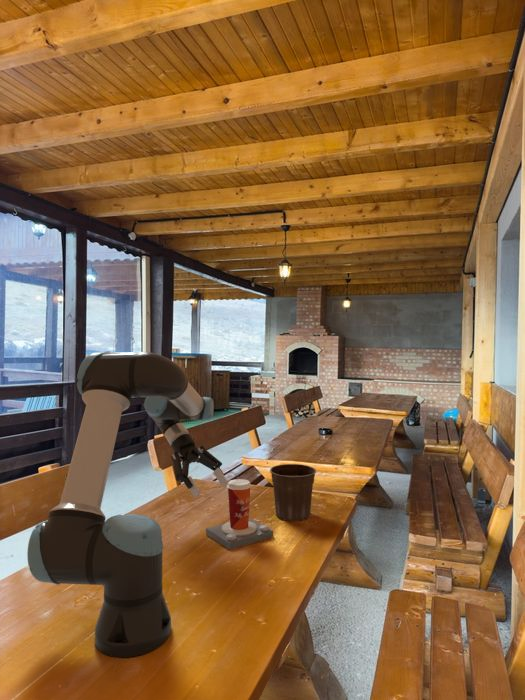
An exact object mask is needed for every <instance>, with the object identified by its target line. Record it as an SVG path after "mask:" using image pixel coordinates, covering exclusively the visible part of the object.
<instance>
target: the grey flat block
mask: <svg viewBox="0 0 525 700" xmlns="http://www.w3.org/2000/svg"><path fill="white" fill-rule="evenodd" d="M205 535H206V536H208V537H209V538H210V539H212V540H214V541H215V542H216V543H218V544H219V545H221V546H222V547H225V549H227V550H229V551H231V550H234V549H237V548H240V547H244V546H247V545H250V544H254V543H256V542H261V541H264V540H267V539H271V538H274V530H273V529H271V528H270V525H267V524H261V523H260V522H258V521H255V520H254V519H252V518H250V517H249V522H248V528H246V529H243V530H235V529H232V528H231V526H230V521H227V522H226V523H222V524H221V523H220V524H216V525H213V526H209V527H206V528H205Z"/></svg>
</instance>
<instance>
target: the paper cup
mask: <svg viewBox="0 0 525 700" xmlns="http://www.w3.org/2000/svg"><path fill="white" fill-rule="evenodd" d="M251 487H252V485H251V481H249V480H248V479H242V478H240V479H239V478H236V479H232V480H231V479H230V480H228V485H227V486H226V488H227V494H228V510H229V511H228V513H229V522H230V526H231V528H232V529H235V530H243V529H246V528H248V522H249V518H250V499H251V498H250V497H251Z"/></svg>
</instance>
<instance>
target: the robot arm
mask: <svg viewBox="0 0 525 700" xmlns="http://www.w3.org/2000/svg"><path fill="white" fill-rule="evenodd" d="M76 378H77V382H76V386H77V390H78V392H79V394H80V395H81V400H82V402H83V403H84V404H85V408H84V413H83V416H82V419H81V423H80V427H79V430H78V431H79V432H78V434H77V438H76V443H75V445H74V450H73V453H72V457H71V461H70V464H69V467H68V472H67V475H66V479H65V482H64V487H63V491H62V493H61V498H60V501H59V504H57V505H56V506H54V507H53V508H52V509H50V510H49V513H48V517H47V520H44V521H42V522H39V523H37V525H36V526H35V528H33V529H32V532H31V534H30V536H29V540H28V545H27V553H26V555H27V565H28V567H29V572H30V574H31V576H32V577H33V578H34V579H35V580H37V581H38V582H41V583H50V584H54V585H60V584H63V585H65V584H66V585H67V584H68V585H93V586H97V585H98V586H103V603H102V605H101V609H100V612H99V615H98V618H97V622H96V624H95V628H94V643H95V646H96V649H98V650H99V651H100V652H101V653H103V654H104V655H106V656H111V657H113V658H114V657H115V658H132V657H137V656H142V655H144V654H147V653H149V652H152V651H154V650H156V649H158V648H159V647H161V645H163V644H165V642H166V641H167V640H168V638H169V637H170V636H171V632H172V617H171V614H170V611H169V608H168V605H167V602H166V599H165V596H164V593H163V549H164V543H163V538H162V537H163V536H162V533H163V532H162V528H161V526H160V524H159V522H157V521H156V520H155V519H154V518H152V517H149V516H147V515H143V514H137V513H125V514H117V515H113V516H110V517H108V518H106V516H105V514H104V512H103V511H102V503H103V499H104V494H105V491H106V485H107V481H108V477H109V472H110V467H111V463H112V458H113V454H114V449H115V444H116V441H117V437H118V432H119V427H120V422H121V418H122V413H123V412H124V411H126V410H128V409H129V408H130V405H131V402H132V401H131V400H132V398H145V400H144V403H143V406H144V410H145V412H146V413H147V415H148V416H149V417H150V418H151V419H152V420H153V422H154V423H155V424H156V425H157V427H158V428H159V429H160V431H161V433H162V434H163V436H164V437H165V439H166V440H167V442H168V444H169V445H170V448H172V451H173V454H172V455H171V456H170V458H171V460H172V463H173V468H174V474H175V481H177V482H178V481H179V482H180V483H181V484H182V483H184V484H185V486H186V488H187V489H188V490H189V491H190V492H191V494H192V496H193V497H194V499H197V498H198V497H199V496H200V495H201V493H202V491H201V490H200V488H199V487H198V485H197V483H196V482H195V480H194V479H193V477H192V476H191V475H189V469H190V464H192V463H197V464H202V465H203V466H205V467H207V468H208V469H209V470H211V471H213V472H212V474H213V475H214V477H215V478H216V479H217V481H218V482H219V484H220V485H221V487H222V488H223V489H225V488H227V485H228V482H229V480H228V479H227V478H226V476H225V474H224V472H223V471H222V469H221V467H222V466H223V462H221V460H219V459H218V458H217V457H215V456H214V455H213V454H212V453H211V452H209V451H208V450H207V449H206V448H205V446H203V445H200V446H199V447H197V446H195V442H196V441H195V440H194V439H193V437H192V436H191V434H190V432H189V431H188V429H187V428H186V426H185V425H184V423H183V422H182V420H183V421H184V420H186V421H187V420H188V421H190V420H191V421H192V420H193V421H194V420H195V421H207V420H208V421H209V420H211V419H213V417H214V409H215V408H214V407H215V405H214V399H213V398H212V397H210V396H209V397H208V396H201V395H200V394H199V393H198V392H197V391H196V389H195V388H194V387H193V386H192V385H191V383H190V382H189V377H188V374H187V373H186V372H185V370H184V369H183V368H182V367H181V366H180V365H179V364H177V363H176V362H174V361H173V360H171V359H170V358H169V357H166V356H163V355H162V354H158V353H155V352H149V351H122V352H121V351H117V352H114V351H107V350H106V351H101V352H92V353H90V354H88V355H87V356H86V357H85V358H84V359H83V360H82V361H81V363H80V366H79V368H78V372H77V377H76ZM181 460H182V461H181Z"/></svg>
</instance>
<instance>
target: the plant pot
mask: <svg viewBox="0 0 525 700" xmlns="http://www.w3.org/2000/svg"><path fill="white" fill-rule="evenodd" d="M269 473H270V474H271V482H272V485H273V496H274V505H275V516H276V517H277V518H280V519H281V520H282V521H283V520H284V521H287V520H288V521H289V522H299V521H303V520H307V519H309V518H310V517H311V511H312V510H311V508H312V499H313V498H312V497H313V488H314V487H313V486H314V483H315V477H316V476H315V475H316V473H317V469H316V468H314V467H312V466H309V465H306V464H300V463H299V464H298V463H297V464H296V463H287V464H286V463H283V464H278V465H274V466H272V467H271V468H270V469H269ZM288 521H287V522H288Z"/></svg>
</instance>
